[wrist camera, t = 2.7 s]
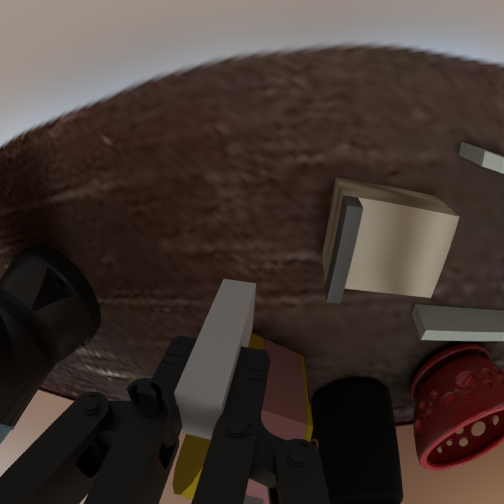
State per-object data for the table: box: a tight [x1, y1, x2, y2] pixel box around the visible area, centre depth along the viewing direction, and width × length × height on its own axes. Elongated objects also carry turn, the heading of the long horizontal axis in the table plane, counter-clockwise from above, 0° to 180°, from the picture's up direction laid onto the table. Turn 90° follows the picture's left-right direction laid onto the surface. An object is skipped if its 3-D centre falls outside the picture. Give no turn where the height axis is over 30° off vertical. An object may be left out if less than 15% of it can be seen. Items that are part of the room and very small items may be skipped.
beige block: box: [322, 177, 459, 304], centre depth 22 cm, size 9×7×7 cm
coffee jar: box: [310, 379, 403, 504], centre depth 28 cm, size 11×11×18 cm
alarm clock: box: [173, 333, 313, 504], centre depth 27 cm, size 15×8×18 cm, turn 154°
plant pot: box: [410, 343, 504, 470], centre depth 26 cm, size 13×13×12 cm
